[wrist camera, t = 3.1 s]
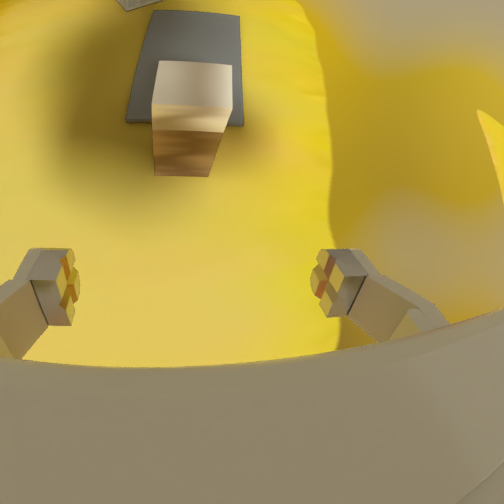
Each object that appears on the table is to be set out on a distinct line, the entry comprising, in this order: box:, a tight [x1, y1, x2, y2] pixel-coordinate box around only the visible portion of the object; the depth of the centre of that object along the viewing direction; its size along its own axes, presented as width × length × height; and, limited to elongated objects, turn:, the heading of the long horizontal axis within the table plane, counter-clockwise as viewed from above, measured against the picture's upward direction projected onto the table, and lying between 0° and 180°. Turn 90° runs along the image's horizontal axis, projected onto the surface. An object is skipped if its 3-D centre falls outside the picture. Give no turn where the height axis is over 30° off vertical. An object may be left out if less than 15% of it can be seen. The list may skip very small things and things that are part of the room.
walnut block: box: [152, 61, 233, 177], centre depth 22 cm, size 5×4×11 cm
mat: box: [126, 10, 244, 127], centre depth 29 cm, size 12×20×1 cm, turn 3°
